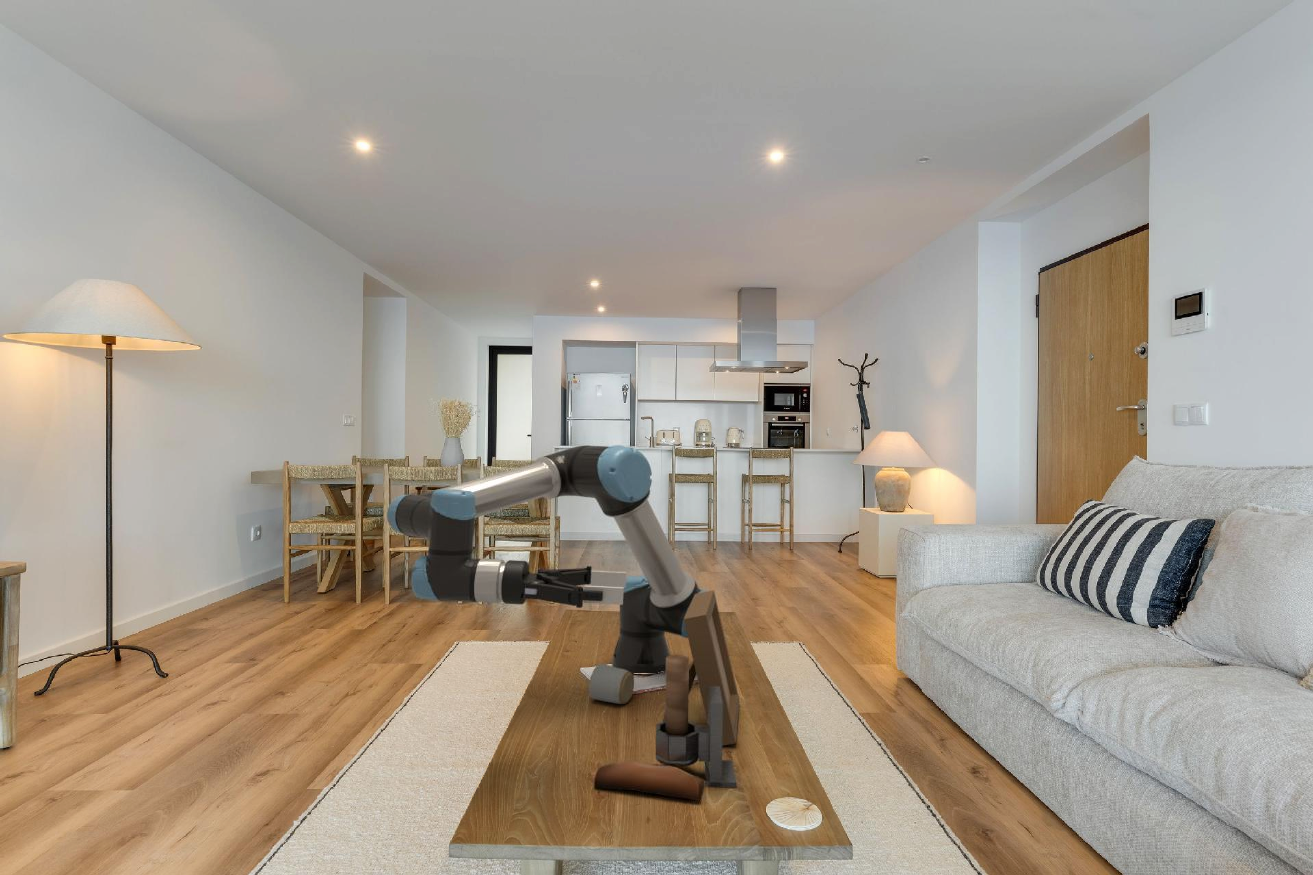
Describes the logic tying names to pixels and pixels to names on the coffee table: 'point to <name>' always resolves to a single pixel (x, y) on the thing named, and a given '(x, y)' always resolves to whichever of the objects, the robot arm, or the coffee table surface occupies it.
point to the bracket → (699, 745)
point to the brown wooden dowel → (677, 695)
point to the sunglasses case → (650, 779)
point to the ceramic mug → (611, 684)
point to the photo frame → (712, 660)
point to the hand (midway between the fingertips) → (625, 587)
